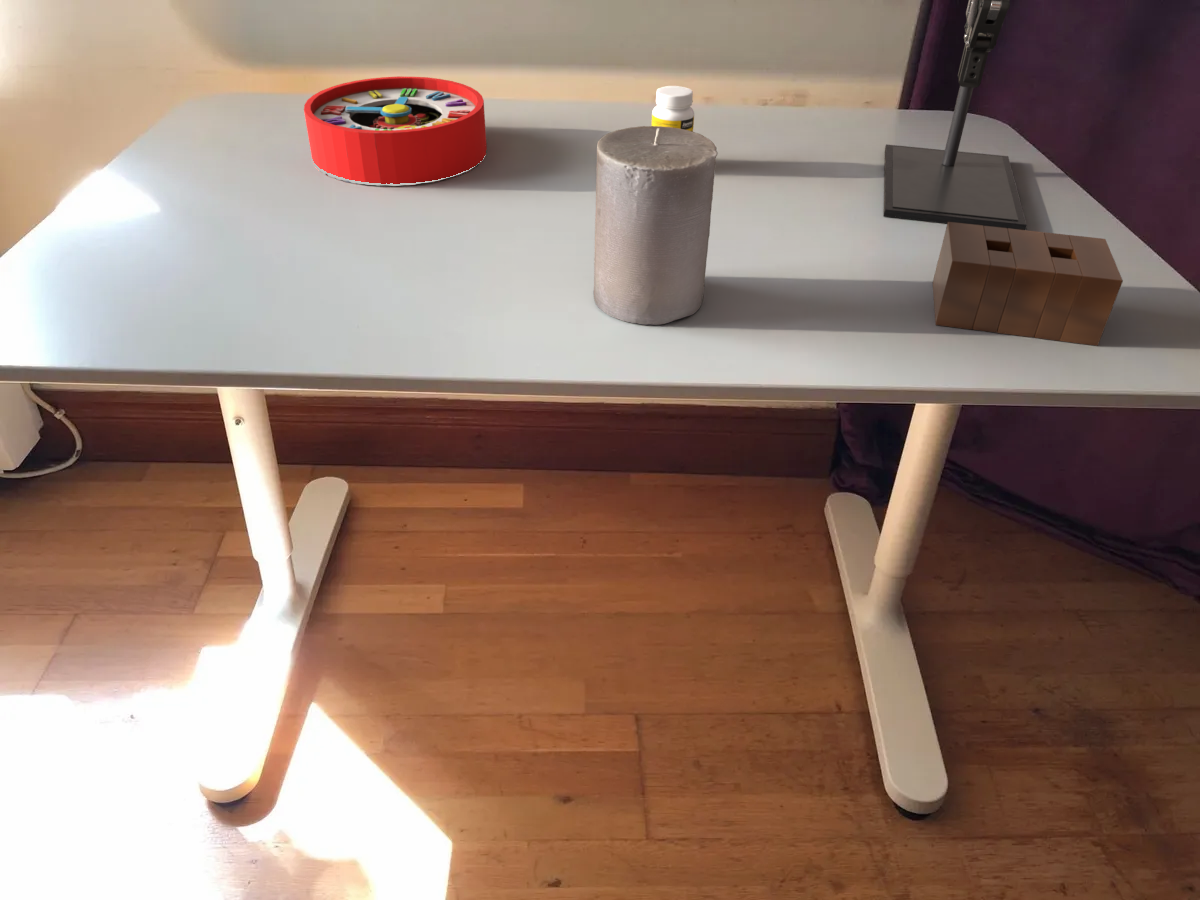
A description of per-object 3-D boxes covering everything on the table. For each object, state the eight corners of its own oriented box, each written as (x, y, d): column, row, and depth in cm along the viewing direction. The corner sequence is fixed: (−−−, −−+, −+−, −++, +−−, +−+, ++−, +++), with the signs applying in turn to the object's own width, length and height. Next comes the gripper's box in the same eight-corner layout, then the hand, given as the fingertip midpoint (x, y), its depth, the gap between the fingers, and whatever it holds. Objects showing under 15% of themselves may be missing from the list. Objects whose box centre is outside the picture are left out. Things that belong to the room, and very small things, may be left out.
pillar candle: (604, 269, 88) (607, 105, 79) (709, 279, 87) (724, 114, 78) (583, 320, 81) (584, 145, 72) (698, 332, 80) (713, 156, 70)
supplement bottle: (682, 176, 107) (687, 99, 102) (643, 169, 108) (646, 93, 103) (696, 162, 111) (701, 87, 105) (658, 155, 112) (661, 81, 107)
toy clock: (469, 135, 99) (279, 129, 100) (473, 189, 103) (290, 183, 104) (494, 78, 115) (330, 74, 116) (497, 127, 119) (338, 122, 119)
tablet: (1006, 162, 112) (1008, 155, 111) (1024, 232, 96) (1027, 223, 96) (884, 150, 114) (885, 143, 114) (883, 216, 99) (884, 208, 98)
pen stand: (1082, 301, 85) (1105, 238, 81) (1097, 346, 79) (1123, 280, 75) (932, 282, 87) (947, 221, 84) (935, 325, 81) (952, 260, 78)
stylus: (954, 162, 109) (985, 33, 101) (954, 167, 108) (987, 36, 100) (941, 161, 109) (971, 32, 101) (941, 165, 108) (972, 35, 100)
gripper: (1063, -87, 87) (1009, 106, 97) (1045, -107, 97) (998, 69, 108) (977, -91, 88) (934, 99, 99) (969, -111, 99) (930, 63, 109)
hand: (968, 82), depth 103 cm, fingers closed on stylus, 1 cm apart
